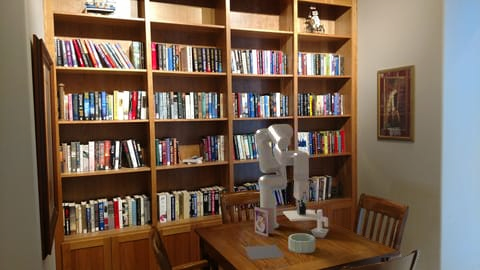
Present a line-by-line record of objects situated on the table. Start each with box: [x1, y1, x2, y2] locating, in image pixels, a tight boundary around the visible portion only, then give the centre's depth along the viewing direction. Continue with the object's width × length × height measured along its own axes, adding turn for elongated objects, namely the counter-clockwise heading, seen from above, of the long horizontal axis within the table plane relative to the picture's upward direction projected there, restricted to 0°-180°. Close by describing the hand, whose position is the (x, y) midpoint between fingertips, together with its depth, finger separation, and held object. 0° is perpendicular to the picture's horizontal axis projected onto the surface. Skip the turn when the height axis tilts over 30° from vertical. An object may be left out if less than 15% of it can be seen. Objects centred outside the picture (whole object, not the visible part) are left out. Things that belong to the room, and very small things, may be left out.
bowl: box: [287, 233, 316, 254], centre depth 193 cm, size 13×13×6 cm
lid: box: [282, 201, 321, 222], centre depth 192 cm, size 15×15×7 cm
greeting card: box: [254, 206, 275, 237], centre depth 218 cm, size 11×7×15 cm, turn 37°
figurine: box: [310, 208, 329, 239], centre depth 211 cm, size 7×9×15 cm
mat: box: [244, 244, 285, 261], centre depth 189 cm, size 17×17×1 cm
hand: (301, 212), depth 192 cm, fingers closed on lid, 3 cm apart
